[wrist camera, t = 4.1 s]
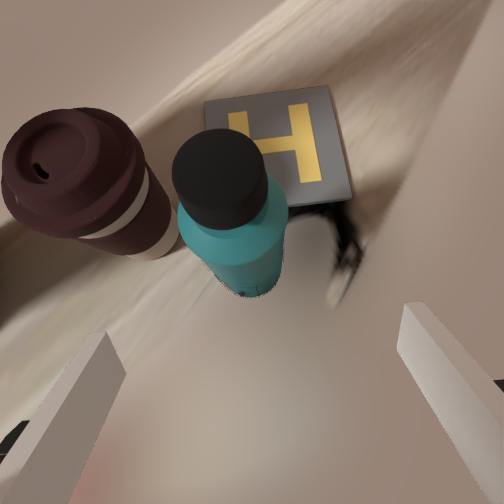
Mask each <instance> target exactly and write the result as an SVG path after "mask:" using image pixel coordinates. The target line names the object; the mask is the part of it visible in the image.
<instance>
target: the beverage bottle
mask: <svg viewBox="0 0 504 504" xmlns="http://www.w3.org/2000/svg"><path fill="white" fill-rule="evenodd" d="M172 181H173V185H174V187H175V190H176V192H177V194H178V196H179V199H180V202H179V205H178V211H177V220H178V227H179V231H180V234H181V236H182V238H183V240H184V242H185V243H186V245H187V246H188V247H189V248H190V250H191V251H192V252H193V253H195V254H196V255H197V256H198V257H200V258H201V259H202V260H203V261H204V262H205V264H206V265H207V266H208V267H209V268H210V269H211V270H212V271H213V273H214V274H215V275H214V276H216V278H219V281H220V280H221V281H220V282H221V283H222V282H223V283H224V284H225V285H226V286H227V287H228V288H229V289H230V290H232V291H233V292H234V293H236V294H238V295H240V296H243V297H256V296H260V295H262V294H265V293H268V291H270V290H271V289H272V288H273V287H274V285H276V283H277V281H278V279H279V276H280V273H281V265H282V255H283V241H284V232H285V228H286V225H287V219H288V203H287V199H286V195H285V193H284V191H283V189H282V187H281V185H280V184H279V183H278V181H277V180H276V179H275V178H274V177H273V176H272V175H271V174H270V173H268V172H267V171H266V170H265V165H264V160H263V156H262V154H261V152H260V150H259V148H258V147H257V145H256V144H255V143H254V142H253V141H252V140H251V139H250V138H249V137H248V136H246V135H245V134H243V133H241V132H238V131H235V130H232V129H226V128H217V129H210V130H206V131H203V132H200V133H198V134H196V135H194V136H193V137H191V138H190V139H189V140H187V141H186V142H185V143H184V144H183V145H182V146H181V148H180V149H179V151H178V152H177V154H176V156H175V158H174V162H173V165H172ZM200 261H201V260H200ZM203 261H202V262H203ZM203 264H204V263H203ZM204 266H205V265H204ZM207 270H208V269H207ZM208 271H209V270H208ZM210 273H211V272H210Z"/></svg>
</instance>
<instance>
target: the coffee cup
mask: <svg viewBox="0 0 504 504" xmlns="http://www.w3.org/2000/svg"><path fill="white" fill-rule="evenodd" d="M1 186H2V194H3V199H4V202H5V204H6V206H7V208H8V210H9V211H10V213H11V214H12V215H13V217H14V218H15V219H16V220H18V221H19V222H20V223H22V224H23V225H25V226H27V227H29V228H31V229H33V230H36V231H38V232H40V233H43V234H45V235H48V236H52V237H56V238H72V239H74V240H77V241H80V242H82V243H85V244H88V245H91V246H94V247H96V248H99V249H102V250H105V251H108V252H111V253H113V254H117V255H125V256H128V257H130V258H133V259H136V260H143V261H146V260H153V259H156V258H159V257H161V256H163V255H164V254H166V253H167V252H168V251H169V250H170V249H171V248H172V247H173V246H174V244H175V242H176V241H177V238H178V235H179V227H178V220H177V214H176V212H175V210H174V209H173V207H172V206H171V204H170V201H169V198H168V196H167V194H166V192H165V191H164V189H163V188H162V186H161V184H160V183H159V181H158V180H157V178H156V177H155V175H154V173H153V172H152V170H151V169H150V167H149V165H148V164H147V162H146V161H145V157H144V152H143V149H142V147H141V144H140V143H139V141H138V139H137V138H136V136H135V135H134V134H133V132H132V131H131V130H130V128H129V127H128V126H127V125H126V123H125V122H123V121H122V120H121V119H120V118H119V117H117V116H115V115H114V114H112V113H110V112H107V111H104V110H101V109H96V108H86V107H84V108H73V109H58V110H52V111H48V112H45V113H42V114H40V115H38V116H36V117H34V118H32V119H31V120H29V121H28V122H26V123H25V124H24V125H22V126H21V127H20V129H19V130H18V131H17V132H16V133H15V134H14V135H13V136H12V138H11V139H10V141H9V142H8V144H7V146H6V149H5V151H4V154H3V160H2V181H1Z"/></svg>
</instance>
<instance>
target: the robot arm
mask: <svg viewBox="0 0 504 504" xmlns="http://www.w3.org/2000/svg"><path fill="white" fill-rule="evenodd" d="M397 351H398V353H399V354H400V356H401V358H402V359H403V361H404V362H405V364H406V366H407V367H408V369H409V371H410V372H411V374H412V376H413V377H414V379H415V381H416V382H417V384H418V386H419V387H420V389H421V391H422V392H423V394H424V396H425V397H426V399H427V401H428V402H429V404H430V406H431V407H432V409H433V410H434V412H435V414H436V415H437V417H438V419H439V420H440V422H441V424H442V425H443V427H444V429H445V430H446V432H447V434H448V435H449V437H450V438H451V440H452V442H453V444H454V445H455V447H456V449H457V450H458V452H459V454H460V455H461V457H462V459H463V460H464V462H465V464H466V465H467V467H468V468H469V470H470V472H471V473H472V475H473V477H474V478H475V480H476V482H477V483H478V485H479V487H480V488H481V490H482V492H483V493H484V495H485V497H486V498H487V500H488V502H489V503H490V504H504V380H492V379H491V378H490V377H489V376H488V375H487V373H486V372H485V371H484V370H483V369H482V368H481V367H480V366H479V365H478V363H477V362H476V361H475V360H474V359H473V358H472V356H471V355H470V354H469V353H468V352H467V351H466V350H465V349H464V347H463V346H462V345H461V344H460V343H459V342H458V341H457V339H456V338H455V337H454V336H453V335H452V334H451V333H450V332H449V331H448V329H447V328H446V327H445V326H444V325H443V324H442V322H441V321H440V320H439V319H438V318H437V317H436V316H435V315H434V313H433V312H432V311H431V310H430V309H429V308H428V307H427V305H426V304H425V303H424V302H423V301H421V302H410V303H405V304H404V310H403V315H402V321H401V326H400V332H399V338H398V343H397ZM125 375H126V372H125V370H124V368H123V366H122V364H121V361H120V359H119V357H118V355H117V353H116V351H115V349H114V347H113V344H112V342H111V340H110V338H109V336H108V334H107V332H99V333H90V334H89V335H88V337H87V338H86V340H85V341H84V343H83V344H82V346H81V347H80V349H79V350H78V352H77V353H76V354H75V356H74V357H73V359H72V360H71V362H70V363H69V365H68V366H67V368H66V369H65V371H64V372H63V373H62V375H61V376H60V378H59V379H58V381H57V382H56V384H55V385H54V387H53V388H52V390H51V391H50V392H49V394H48V395H47V397H46V398H45V400H44V401H43V403H42V404H41V406H40V407H39V409H38V410H37V411H36V413H35V414H34V416H33V417H32V419H31V420H27V421H22V422H20V423H19V424H18V425H17V426H16V427H15V428H14V429H13V430H12V431H11V432H10V433H9V434H8V435H7V436H6V437H5V438H4V439H3V441H2V442H1V444H0V504H68V502H69V500H70V498H71V496H72V493H73V491H74V489H75V487H76V484H77V482H78V480H79V478H80V476H81V473H82V471H83V469H84V467H85V464H86V462H87V460H88V458H89V455H90V453H91V451H92V448H93V447H94V444H95V442H96V440H97V438H98V435H99V433H100V431H101V429H102V426H103V424H104V422H105V420H106V418H107V415H108V413H109V411H110V409H111V406H112V404H113V402H114V400H115V397H116V395H117V393H118V391H119V389H120V386H121V384H122V382H123V380H124V377H125Z"/></svg>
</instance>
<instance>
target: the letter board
mask: <svg viewBox="0 0 504 504" xmlns="http://www.w3.org/2000/svg"><path fill="white" fill-rule="evenodd" d="M204 111H205V129H206V130H210V129H217V128H226V129H232V130H235V131H238V132H241V133H243V134H245V135H246V136H248V137H249V138H250V139H251V140H252V141H253V142H254V143H255V144H256V145H257V147H258V148H259V150H260V152H261V154H262V156H263V160H264V165H265V170H266V171H267V172H268V173H270V174H271V175H272V176H273V177H274V178H275V179H276V180H277V181H278V183H279V184H280V185H281V187H282V189H283V191H284V193H285V195H286V199H287V203H288V207H294V206H303V205H311V204H320V203H328V202H337V201H345V200H351V199H352V193H351V188H350V184H349V179H348V175H347V170H346V166H345V161H344V157H343V152H342V148H341V143H340V139H339V134H338V130H337V125H336V121H335V116H334V112H333V107H332V103H331V98H330V94H329V89H328V85H325V86H317V87H310V88H302V89H295V90H287V91H280V92H272V93H265V94H257V95H250V96H242V97H235V98H227V99H220V100H212V101H205V102H204Z"/></svg>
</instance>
